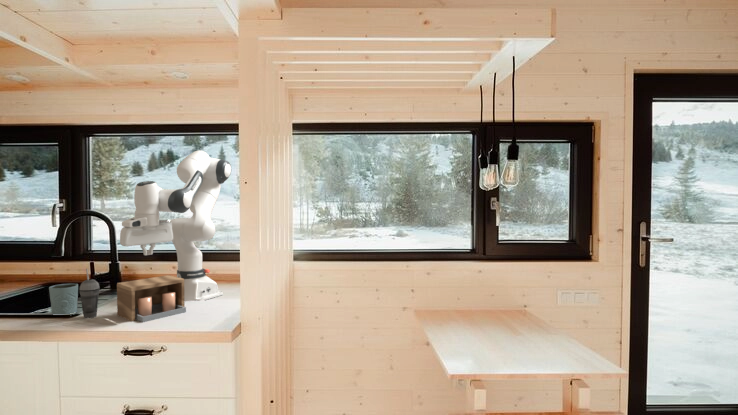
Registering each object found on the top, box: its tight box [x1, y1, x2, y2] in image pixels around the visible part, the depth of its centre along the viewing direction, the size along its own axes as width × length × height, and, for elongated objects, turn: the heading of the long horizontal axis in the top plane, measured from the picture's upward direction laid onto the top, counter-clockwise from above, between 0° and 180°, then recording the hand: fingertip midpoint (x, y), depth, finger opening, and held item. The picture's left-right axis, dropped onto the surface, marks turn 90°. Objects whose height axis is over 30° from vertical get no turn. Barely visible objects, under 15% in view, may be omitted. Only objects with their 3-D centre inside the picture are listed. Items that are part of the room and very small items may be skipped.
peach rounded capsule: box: [138, 296, 152, 316], centre depth 175 cm, size 5×5×8 cm
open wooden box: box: [116, 274, 186, 322], centre depth 181 cm, size 22×13×14 cm, turn 143°
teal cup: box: [48, 283, 79, 315], centre depth 180 cm, size 10×10×12 cm
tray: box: [135, 303, 187, 323], centre depth 179 cm, size 18×15×3 cm
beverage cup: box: [78, 268, 101, 319], centre depth 176 cm, size 7×7×20 cm
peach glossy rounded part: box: [162, 292, 175, 312], centre depth 183 cm, size 5×5×8 cm
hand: (148, 254), depth 175 cm, fingers closed
